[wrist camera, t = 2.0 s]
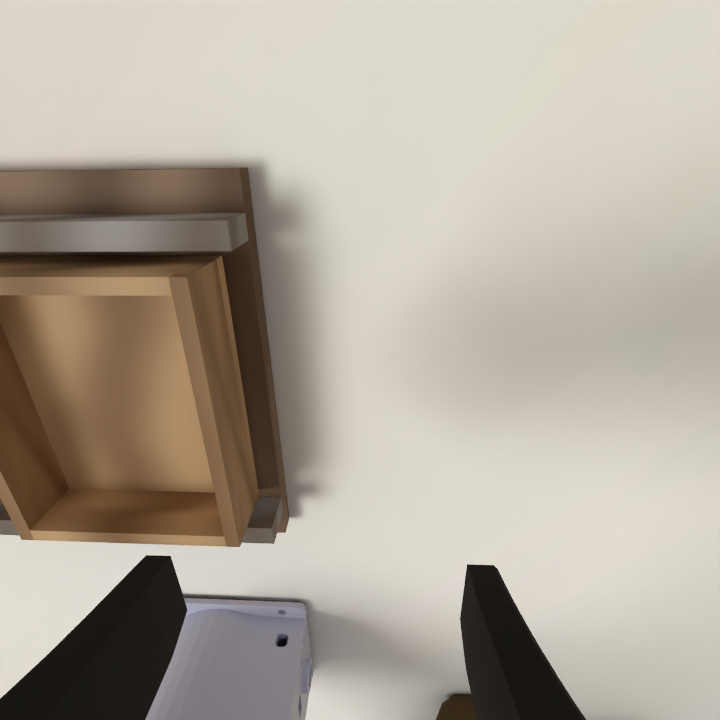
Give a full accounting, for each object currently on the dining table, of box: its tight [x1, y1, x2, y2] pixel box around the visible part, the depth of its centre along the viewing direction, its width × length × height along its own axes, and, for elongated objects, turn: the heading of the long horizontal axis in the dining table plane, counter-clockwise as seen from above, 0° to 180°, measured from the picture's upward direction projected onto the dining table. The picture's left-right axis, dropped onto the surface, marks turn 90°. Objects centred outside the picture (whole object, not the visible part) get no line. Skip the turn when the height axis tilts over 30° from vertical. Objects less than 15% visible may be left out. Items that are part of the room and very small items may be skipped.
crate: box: [0, 255, 259, 547], centre depth 18 cm, size 10×12×3 cm
